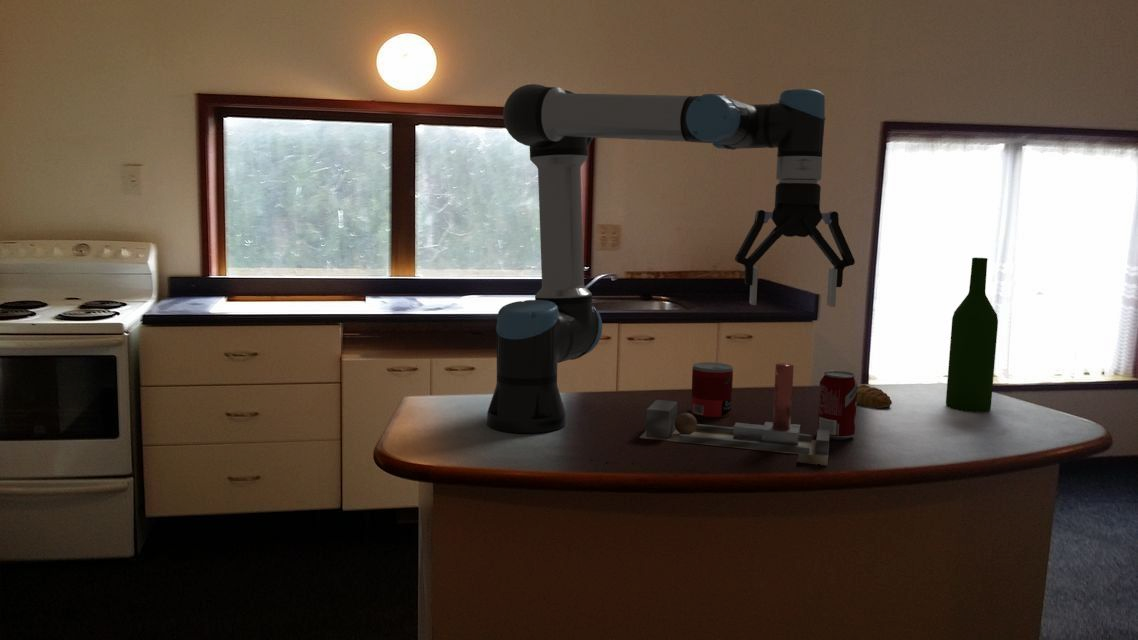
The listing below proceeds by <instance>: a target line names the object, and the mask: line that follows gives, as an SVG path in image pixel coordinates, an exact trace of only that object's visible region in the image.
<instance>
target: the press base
mask: <svg viewBox="0 0 1138 640" xmlns="http://www.w3.org/2000/svg"><path fill="white" fill-rule="evenodd" d="M678 404H679V402H678V401H676V400H675V401H674V400H661V399H656V400H655V401H653V403H652V404H651V405H650V406H648V407H647V408H646V427H645V431H644V432H643V433H642V434H641V435H640V436H639V439H647V440H648V439H649V440H655V441H656V440H659V441H665V442H666V441H667V442H677V443H687V444H698V445H708V446H718V447H726V448H735V449H736V448H737V449H748V450H756V451H763V452H765V451H766V452H776V453H783V454H784V453H786V454H793V455H794V454H795V455H796V454H797V460H796V463H799V462H800V464H809V465H818V464H820V466H828V464H829V463H828V459H829V451H830V449H829V448H830V439H829V436H830V429H819V428H818V432H817V431H816V432H817V433H816V439H813V438H812V437H813V436H812V434H809V433H808V434H807V433H806V434H805V433H800V439H799V445H798V446H797V445H787V444H777V443H767V442H757V441H746V440H736V439H733V433H734V426H732V427H731V426H724V425H723V426H722V425H713V424H701V423H697V427H696V430H695V431H694V432H693V433H692V434H689V435H686V434H680V433H679V432H678V431H677V430H676V428H675V419H676V417H677V416H678V409H679V406H678Z"/></svg>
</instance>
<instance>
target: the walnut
mask: <svg viewBox="0 0 1138 640" xmlns="http://www.w3.org/2000/svg"><path fill="white" fill-rule="evenodd" d="M697 424H698V421H697V418H696V417H695V416H694V414H693V413H690V412H682V413H679V414H677V417H676V419H675V428H676V430H677V431H678V432H679V433H680V434H686V435H689V434H692V433H693V432H694V431H695V430H696V427H697Z"/></svg>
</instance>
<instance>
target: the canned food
mask: <svg viewBox="0 0 1138 640" xmlns="http://www.w3.org/2000/svg"><path fill="white" fill-rule="evenodd" d="M733 372H734V367H733V366H732V365H730V364H727V363H722V362H713V361H712V362H711V361H710V362H709V361H708V362H705V361H704V362H696V363H694V364H692V372H691V373H692V375H691V399H690V400H691V401H690V402H691V404H690V412H691V414H692V415H697V416H701V417H706V418H724V417H730V415H731V414H732V400H733V398H732V397H733V383H734V382H733V380H734V379H733V378H734V375H733V374H734V373H733Z"/></svg>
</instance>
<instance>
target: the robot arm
mask: <svg viewBox="0 0 1138 640" xmlns="http://www.w3.org/2000/svg"><path fill="white" fill-rule="evenodd" d="M779 97H780V98H779V99H778V102H775V103H768V104H765V103H763V104H761V103H760V104H759V103H758V104H748V103H745V102H742V101H739V100H737V99H736V100H735V99H732V98H730V97H727V96H726V95H724V94H717V93H706V94H702V95H693V96H691V95H674V94H673V95H669V94H668V95H665V94H625V93H624V94H617V93H616V94H615V93H614V94H613V93H609V94H608V93H574V92H572V91H570V90H568V89H567V90H566V89H563V88H561V87H556V86H554V87H553V86H552V87H551V86H545V85H543V84H542V85H541V84H535V83H531V84H525V85H522V86H519V87H518V88H516V89H515V90H513V91H512V92H511V94H509V96H508V97H507V99H506V100H505V104H504V106H503V112H502V115H503V116H502V118H503V124H504V126H505V129H506V130H507V133H508V135H509V136H511V138H512V139H514V140H515V141H516V142H517V143H519V144H522V145H524V146H526V147H527V146H528V147H529V160H530V162H531V163H533V164H534V166H536V168H537V177H538V178H537V180H538V181H537V182H538V207H539V214H538V215H539V233H540V234H539V236H540V239H539V240H540V261H541V262H540V264H541V270H540V271H541V288H540V289H539V290H538V291H537V292H536V293H535V295H534V299H527V300H522V301H520V300H518V301H514V302H510V303H508V304H505V305H503V306H502V307H501V308H499V310H498V313H497V319H496V324H495V325H496V326H495V331H496V385H495V389H494V392H493V394H492V397H491V401H490V404H489V406H488V410H487V413H486V414H487V415H486V416H487V417H486V419H487V421H486V422H487V423H486V424H487V425H488V427H489V428H491V429H494V430H497V431H501V432H506V431H507V433H515V434H538V433H539V434H540V433H547V432H552V431H553V432H554V431H556V430H559V429H562V428H563V427H565V426H566V422H567V421H566V418H567V417H566V415H567V413H566V409H565V406H564V403H563V400H562V396H561V393H560V390H559V387H558V363H562V362H566V361H573V360H576V359H577V360H578V359H580V358H582V357H583V356H586V355H588V354H589V353H590V352H592V351H594V349H595V348H596V347H597V345H598V344H599V343H600V342H599V341H600V339H601V337H602V333H603V322H602V320H603V319H602V317H601V314H600V312H599V311H597V309H596V307H595V306H594V305H593V294H592V292H591V291H590V290H589V289H588V288H587V287H586V285H585V278H584V277H585V275H584V274H585V273H584V272H585V271H584V245H583V244H584V242H583V238H584V237H583V213H582V212H583V210H582V209H583V207H582V204H583V203H582V175H581V167H582V165H583V164H584V163H585V162H586V161H587V160H588V159H589V156H588V155H589V154H588V153H589V152H588V151H589V148H588V147H589V146H590V144H591V142H592V141H593V140H594V138H596V139H597V138H599V139H600V138H601V139H618V140H619V139H622V140H623V139H625V140H643V141H644V140H645V141H662V142H663V141H667V142H685V143H686V142H690V143H700V144H701V143H703V144H712V146H713V147H715V148H717V149H721V150H722V149H723V150H724V149H725V150H734V151H735V150H737V149H740V150H741V149H764V148H765V149H767V148H769V149H770V148H771V149H773V148H774V149H775V148H777V154H776V158H777V159H776V172H775V173H776V175H775V178H776V180H777V181H779V182H778V183H777V184H776V185H775V191H774V192H775V193H774V194H775V195H774V196H775V197H774V208H773V211H766V210H764V209H759V210H758V209H757V210H756V211H755V216H754V222H753V224H752V225H751V228H750V229H749V231H748V233H747V235H746V237H745V239H744V240H743V243H742V244H741V246H740V248H739V249H738V251H737V253H736V254H735V256H734V261H735V262H736V263H739V264H742V265H743V267H744V280H743V281H744V285H746V286H749V300H748V301H749V305H751V306H757V302H758V301H757V300H758V299H757V297H758V296H757V295H758V281H759V280H758V278H759V277H758V276H759V267H758V266H754V265H756V263H757V262H758V261H759V260H760V259H761V258H762V257H763V256H764V255H765V254H766V253H767V252H768V250H769V249H771V248H772V246H773V245H774V244H775V243H776V241H778V240H779V239H781V237H782V236H785V237H786V238H787V237H790V238H791V237H792V238H793V237H800V238H806V237H809V238H811V240H813V242H814V243H815V244H816V245H817V247H818V248H819V250H821V252H822V253H823V254H824V256H825V257H826V258H827V260H828V261H829V263H831V264H832V266H833V268H832V267H829V268H828V278H827V279H828V280H827V282H828V283H827V293H826V294H827V296H826V305H827V306H828V307H831V308H835V307H836V300H837V299H836V298H837V288H842V286H843V281H844V280H843V278H844V277H843V276H844V269H846V268H847V267H850V266H854V265H855V262H856V260H855V258H854V255H853V253H852V251H851V249H850V247H849V244H848V242H847V240H846V238H845V236H844V234H843V231H842V228H841V226H840V221H839V219H840V218H839V212H837V211H832V210H831V211H829V212H823V213H822V211H821V210H820V206H821V205H820V204H821V191H822V189H821V188H822V186H821V185H820V184H819V183H818V182H819V181H821V180H822V172H823V171H822V164H823V148H824V147H823V146H824V135H825V134H824V133H825V121H826V116H825V115H826V113H825V111H826V110H825V109H826V107H825V106H826V98H825V95H824V93H823V92H822V91H820V90H817V89H812V88H798V89H797V88H795V89H794V88H793V89H787V90H784V91H782V92H781V93H780V96H779ZM770 219H771V220H772V221H773V224H774V225H775V227H774V228H773V229H772V230H771V231H770V232H769V234H768V236H767V237H765V239H763V241H762V242H760V244H759V245H758V246H757V247H756V249H754V251H752V253H751V254H750V255H749V256H748V254H749V252H750V251H751V249H752V247H753V245H754V243H755V241H756V239H757V238H758V235H759V234H760V232H761V230H762V228H763V226H764V224H767V223H768V221H769V220H770ZM822 221H824V224H825V225H828V228H829V231H830V233H831V235H832V237H833V240H834V243H835V245H836V247H837V249H838V251H839V254H840V256H841V258H840V257H839V256H838V254H837V253H836V251H835V250H834V249H833V248H832V246H830V244H829V243H828V241H827V240H826V238H824V237H823V235H822V233H821V232H820V230H819V229H818V228H817V226H818V225H819V224H820V222H822ZM747 256H748V257H747Z"/></svg>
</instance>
